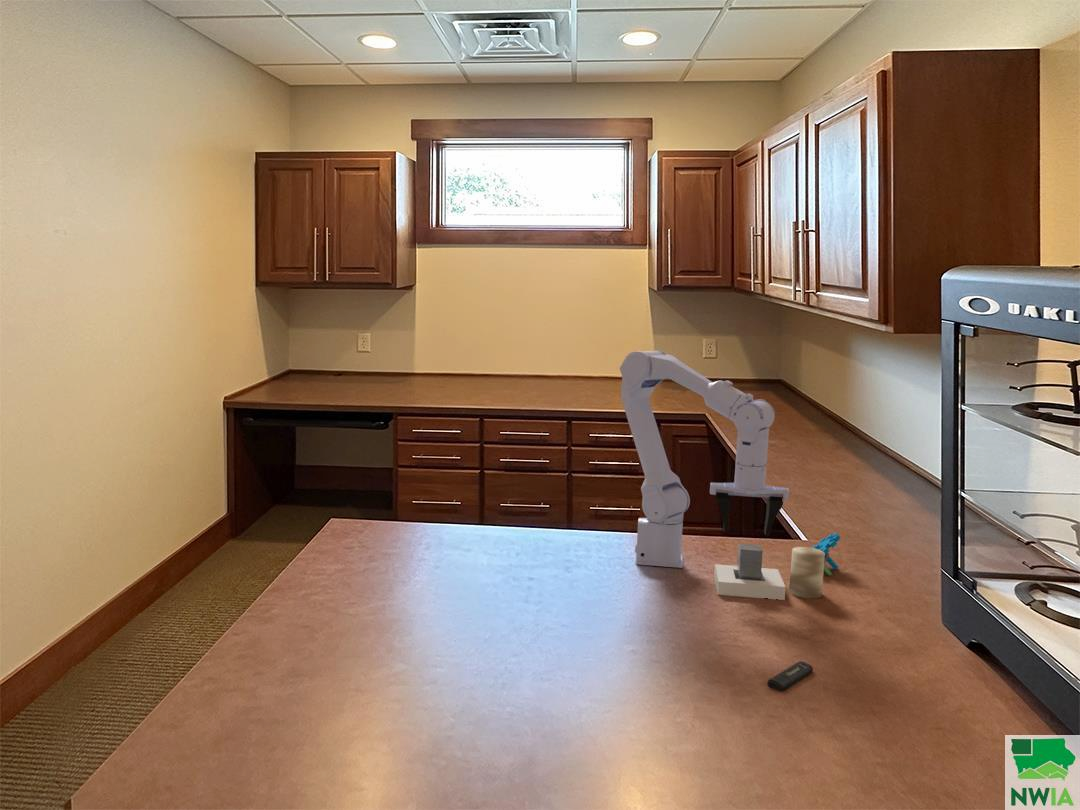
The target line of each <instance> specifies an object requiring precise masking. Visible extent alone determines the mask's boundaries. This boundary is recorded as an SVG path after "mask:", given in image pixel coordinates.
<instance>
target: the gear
mask: <svg viewBox="0 0 1080 810" xmlns="http://www.w3.org/2000/svg"><path fill="white" fill-rule="evenodd" d="M840 539H841V536H840V534H839V533H838V532H834V534H833V533H831V534H829V535H828V536H827V537H826V538H822V539H820V540H819V542H818V544H814V545H812V547H811V548H815V549H819V550H821V551H823V552H824V553H825V559H824V571H823V572H825V573H826V574H827V575H828V576H829V575H830V576H831V575H833V573H832V572H831V571H830V569H829V568H828V567H827V566H826V563H827V564H829V566H830V567H832V569H833V570H834V569H835V570H834V571H836V570H838V568H839V566H838V565H837V563H836V562H835V561H834V560H833V559H832V558H831V557H830V553H829V552H830V550H829V549H830V548H834V547H835V546H837V545H838V542H839V541H840Z"/></svg>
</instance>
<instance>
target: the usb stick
mask: <svg viewBox="0 0 1080 810" xmlns="http://www.w3.org/2000/svg"><path fill="white" fill-rule="evenodd" d="M813 670H814V669H813V666H812V665H811V664H809V663H807V662H804V661H802V660H800V661H797V662H796V663H794V664H793V665H792V664H791V665H790V666H789V667H788V668H785V669H784V670H783V671H781V672H779V673H778V674H776V675H774V676H773V677H771V678H770V679H768V681H767V686H768V687H769V688H770V689H773V690H776V691H778V692H784V691H785V690H787V689H788V688H790V687H792V686H793V685H795V684H796V683H797V684H798V683H799V682H800V681H802V680H803V679H804V678H806V677H807V676H809V675H811V674H812V673H813Z"/></svg>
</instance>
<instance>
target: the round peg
mask: <svg viewBox="0 0 1080 810" xmlns="http://www.w3.org/2000/svg"><path fill="white" fill-rule="evenodd" d="M824 559H825V553H824V552H823V551H821V550H819V549H815V548H812V547H808V546H796V547H793V548H791V560H790V561H791V563H790V576H789V586H788V587H789V589H788V592H789V591H790V592H789V593H790V594H791V595H793V596H795V597H799V598H803V599H810V598H811V599H812V598H814V599H819V598H821V597H822V595H823V584H824V583H823V582H824V572H825V571H824Z"/></svg>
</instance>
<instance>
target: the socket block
mask: <svg viewBox="0 0 1080 810" xmlns="http://www.w3.org/2000/svg"><path fill="white" fill-rule="evenodd" d="M713 575H714V576H713V577H715V578H714V581H715V582H714V583H715V588H716V593H718V594H717V595H719V596H729V597H730V596H731V597H742V598H753V599H764V598H768V599H767V600H776V599H778V600H777V601H779V600H781V601H785V600H786V599H785V598H786V584H785V583H784V580H783V578H782V575H781V573H780V571H779V569H778V568H767V567H762V568H761V581H756V580H743V579H736V577H737V565H730V564H729V565H728V564H718V563H716V564H714V573H713Z"/></svg>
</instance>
